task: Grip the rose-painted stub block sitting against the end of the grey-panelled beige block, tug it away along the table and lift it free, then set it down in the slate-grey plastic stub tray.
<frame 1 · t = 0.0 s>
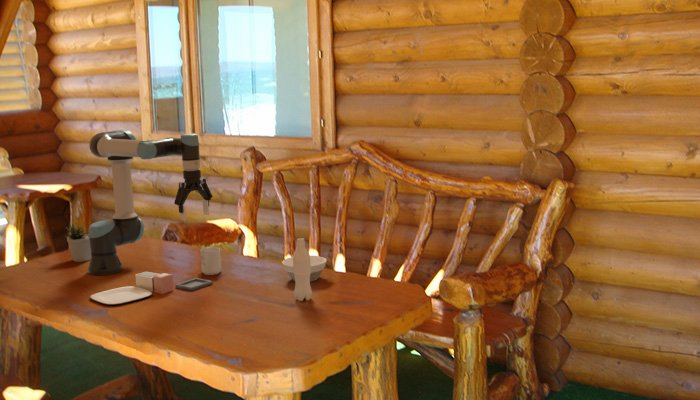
hand: (194, 217, 361), 28 cm above the table, fingers open, 13 cm apart
stub: (164, 291, 348), on the table
bowl: (305, 279, 360), on the table
grey-panelled beige block: (150, 288, 354), on the table
water bottle: (303, 299, 330), on the table
stub tray: (194, 286, 354), on the table
mug: (210, 272, 377), on the table
potted plant: (81, 260, 409), on the table
plate: (121, 298, 341), on the table
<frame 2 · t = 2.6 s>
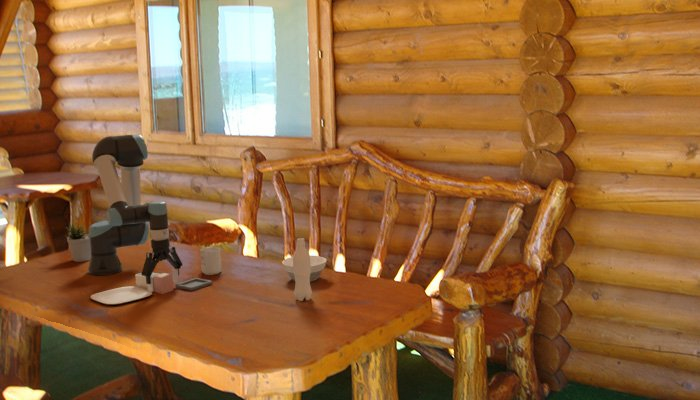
hand: (163, 287, 348), 2 cm above the table, fingers open, 13 cm apart
nothing on the table moved.
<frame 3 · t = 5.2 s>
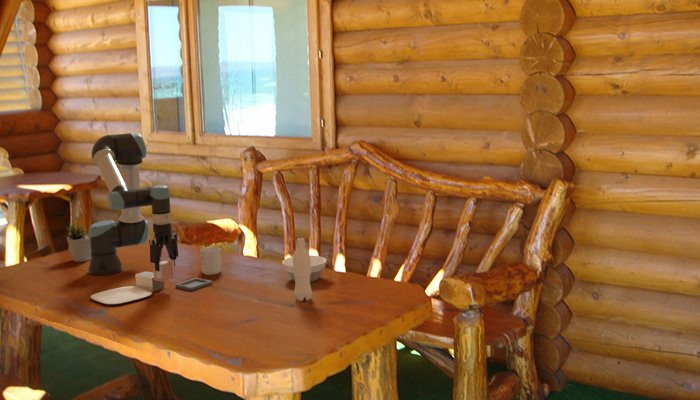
hand: (165, 276, 346), 7 cm above the table, fingers closed on stub, 6 cm apart
stub: (163, 279, 347), point 5 cm above the table, touching gripper
everything else where it was.
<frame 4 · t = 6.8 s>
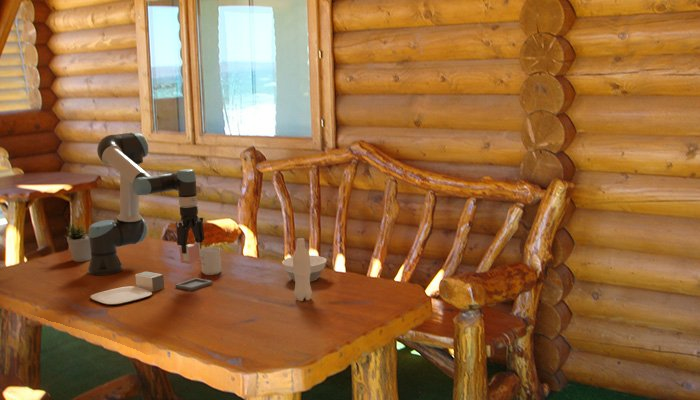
hand: (192, 258, 352), 12 cm above the table, fingers closed on stub, 6 cm apart
stub: (190, 261, 353), point 11 cm above the table, touching gripper
everything else where it was.
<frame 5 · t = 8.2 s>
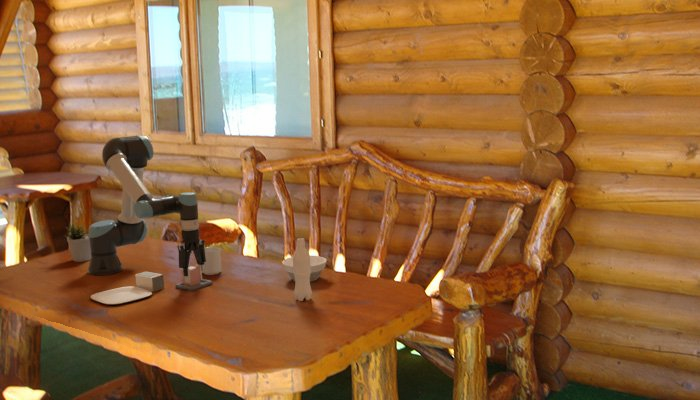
hand: (193, 281, 354), 2 cm above the table, fingers closed on stub, 6 cm apart
stub: (191, 284, 355), point 1 cm above the table, touching gripper
everything else where it was.
when the fingers open (2 cm above the table, at t = 8.5 s): stub stays where it is, resting on stub tray.
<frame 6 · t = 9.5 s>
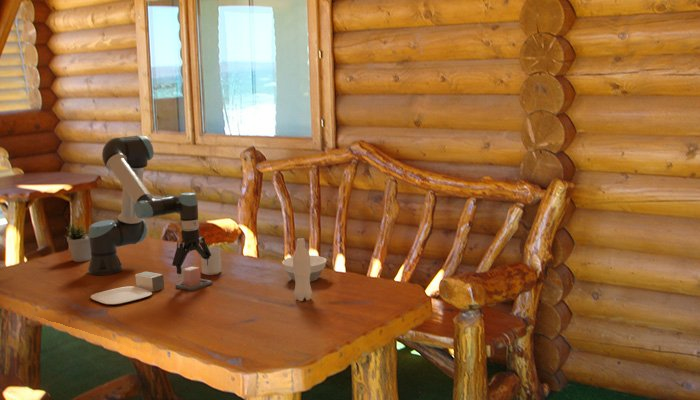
hand: (193, 277, 354), 4 cm above the table, fingers open, 13 cm apart
stub: (191, 284, 355), point 1 cm above the table, touching stub tray
everything else where it was.
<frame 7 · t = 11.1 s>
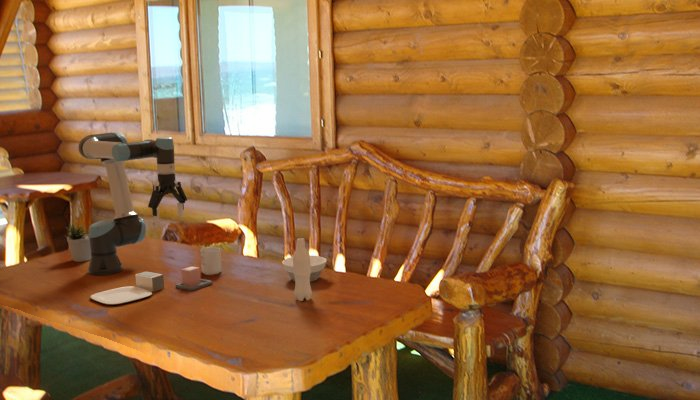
hand: (169, 220, 363), 27 cm above the table, fingers open, 13 cm apart
nothing on the table moved.
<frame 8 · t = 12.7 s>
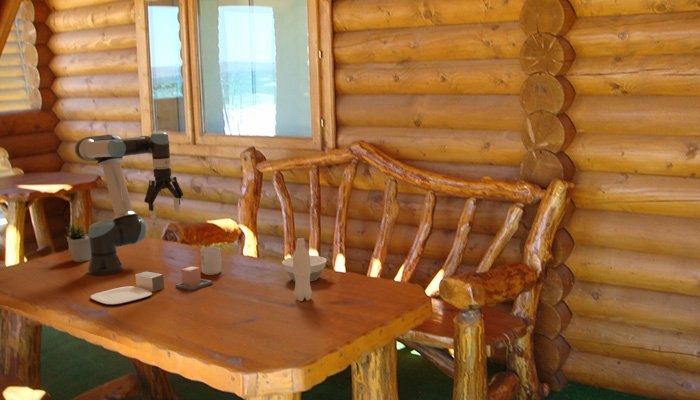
hand: (165, 215, 364), 29 cm above the table, fingers open, 13 cm apart
nothing on the table moved.
at the end: stub inside the target area on the stub tray (1.4 cm from its centre), point 0.6 cm above the stub tray's base; stub tilted 0°; stub touching stub tray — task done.
